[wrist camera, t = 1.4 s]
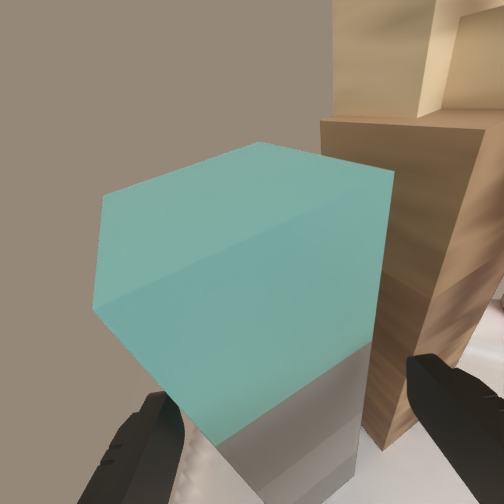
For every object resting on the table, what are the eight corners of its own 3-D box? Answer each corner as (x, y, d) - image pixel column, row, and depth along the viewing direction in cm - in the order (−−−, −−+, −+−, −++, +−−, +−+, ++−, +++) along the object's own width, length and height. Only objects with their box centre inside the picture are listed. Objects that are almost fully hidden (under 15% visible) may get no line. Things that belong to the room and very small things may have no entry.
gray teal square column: (306, 403, 31) (259, 141, 13) (353, 475, 25) (394, 171, 7) (251, 441, 29) (103, 195, 11) (289, 530, 23) (92, 309, 5)
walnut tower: (375, 354, 35) (417, 86, 16) (433, 408, 28) (610, 72, 10) (330, 386, 32) (320, 120, 14) (382, 451, 26) (485, 129, 8)
